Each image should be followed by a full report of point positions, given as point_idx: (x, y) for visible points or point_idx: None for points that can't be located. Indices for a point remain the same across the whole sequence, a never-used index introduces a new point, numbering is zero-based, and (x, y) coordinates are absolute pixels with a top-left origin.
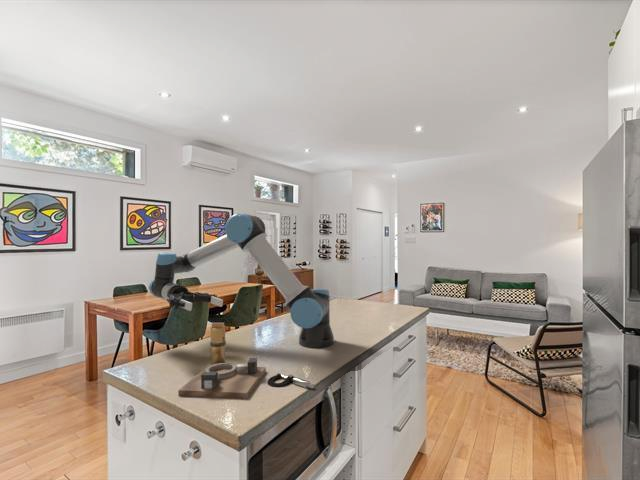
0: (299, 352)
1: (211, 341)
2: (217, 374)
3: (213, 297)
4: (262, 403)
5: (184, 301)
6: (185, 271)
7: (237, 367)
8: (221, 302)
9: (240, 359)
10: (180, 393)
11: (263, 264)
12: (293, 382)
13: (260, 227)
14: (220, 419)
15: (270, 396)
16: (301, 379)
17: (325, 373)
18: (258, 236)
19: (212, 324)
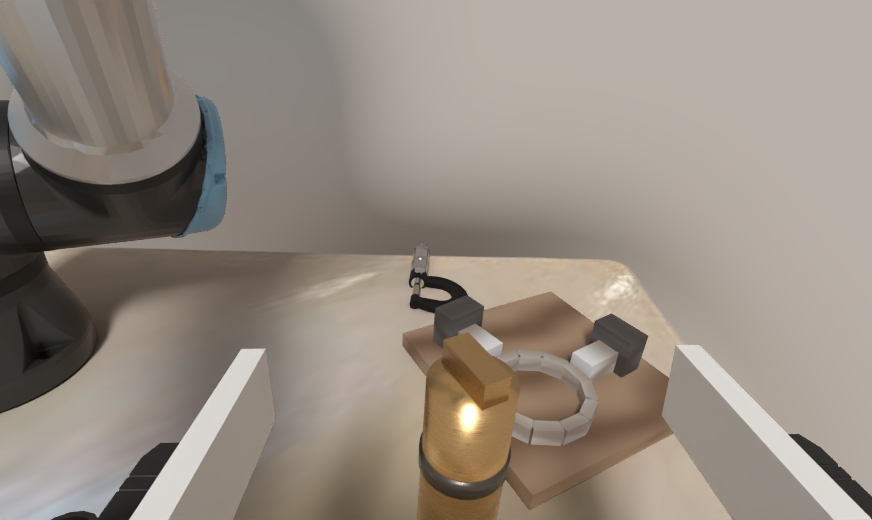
0: (170, 354)
1: (509, 447)
2: (595, 326)
3: (194, 476)
4: (535, 278)
5: (777, 429)
6: None
7: (500, 344)
8: (265, 377)
9: (344, 488)
10: None
11: None
12: (426, 272)
13: None
14: (632, 293)
15: (504, 280)
16: (420, 255)
17: (332, 258)
18: None
19: (507, 377)
